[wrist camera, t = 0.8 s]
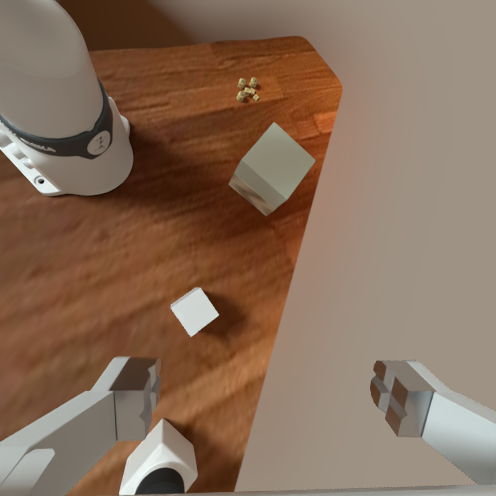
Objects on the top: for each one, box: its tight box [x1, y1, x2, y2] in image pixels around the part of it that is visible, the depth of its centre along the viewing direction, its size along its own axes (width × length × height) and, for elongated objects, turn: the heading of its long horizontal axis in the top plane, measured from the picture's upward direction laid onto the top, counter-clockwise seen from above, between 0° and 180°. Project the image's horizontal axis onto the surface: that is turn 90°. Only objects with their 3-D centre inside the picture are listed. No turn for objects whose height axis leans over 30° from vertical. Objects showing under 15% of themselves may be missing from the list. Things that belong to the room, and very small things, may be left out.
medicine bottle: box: [119, 419, 198, 495], centre depth 33 cm, size 7×7×12 cm
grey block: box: [171, 288, 219, 336], centre depth 40 cm, size 5×5×8 cm
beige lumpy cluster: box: [237, 78, 259, 102], centre depth 54 cm, size 5×5×2 cm
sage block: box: [234, 122, 316, 209], centre depth 45 cm, size 10×10×5 cm
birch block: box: [228, 174, 276, 216], centre depth 50 cm, size 10×10×5 cm
